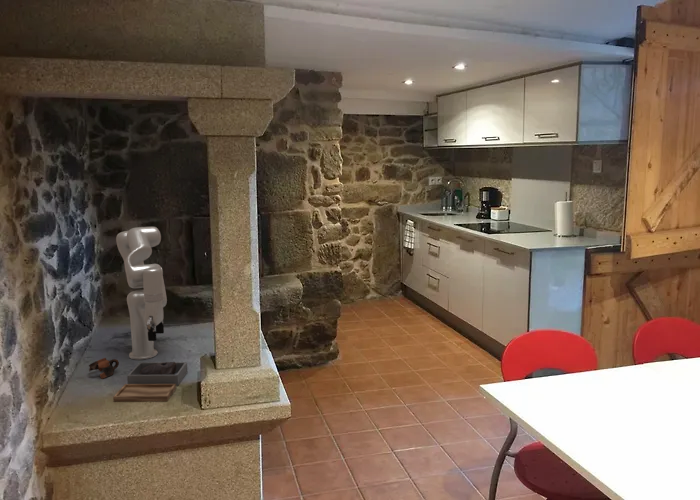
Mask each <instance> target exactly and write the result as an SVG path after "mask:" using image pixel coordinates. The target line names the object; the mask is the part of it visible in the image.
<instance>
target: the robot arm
mask: <svg viewBox="0 0 700 500" xmlns="http://www.w3.org/2000/svg"><path fill="white" fill-rule="evenodd" d="M115 240H116V245H117V249H118V252H119V253H120V254H119V255H120V256H121V257H122V259H123V261H124V271H125V276H126V281H127V284H128V287H129V288H132V289H137V290H133V291H131V292H129V293H128V294H127V297H126V303H127V307H128V313H129V319H130V320H129V321H130V333H131V334H130V335H131V336H130V337H131V348H132V351H130V352H129V353H128V356H129V358H130V359H131V360H136V361H138V360H149V359H151V358H155V357H156V356H157V355H158V349H155V348H154V347H155V346H154V344H155V342H156V341H157V334H164V332H165V329H164V308H165V307H166V305H167V303H168V302H167V301H168V299H167V298H168V297H167V292H166V287H165V281H164V276H163V275H164V271H163V268H162V266H161V265H160V264H158V263H152V264H151V263H150V264H145V263H144V261H146V260H147V259H149V258H150V257H151V256H152V253H153V249H152V248H153V247H156V246H159V244H160V243H161V240H162V234H161V231H160V230H159V228H157V227H156V226H139V227H138V226H137V227H132V228H130V229H129V230H124V231H121V232H119V233H117V235H116V238H115ZM142 288H143V289H142Z"/></svg>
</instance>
